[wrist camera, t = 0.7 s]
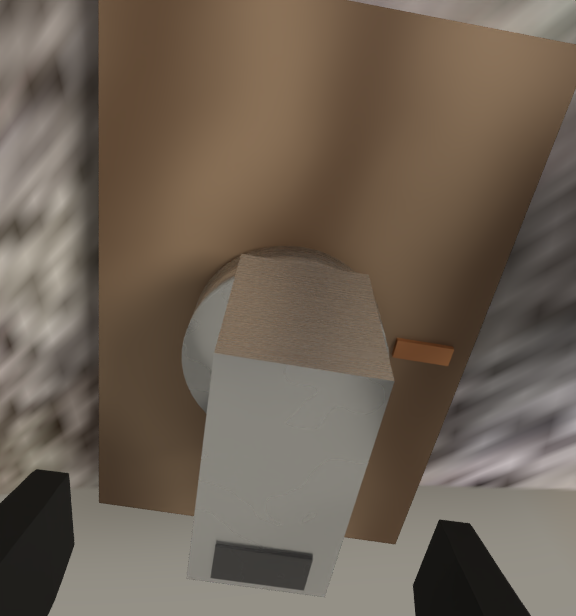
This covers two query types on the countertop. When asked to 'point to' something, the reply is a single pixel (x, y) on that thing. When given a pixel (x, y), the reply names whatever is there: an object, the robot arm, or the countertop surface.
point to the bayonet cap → (282, 415)
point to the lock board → (306, 203)
